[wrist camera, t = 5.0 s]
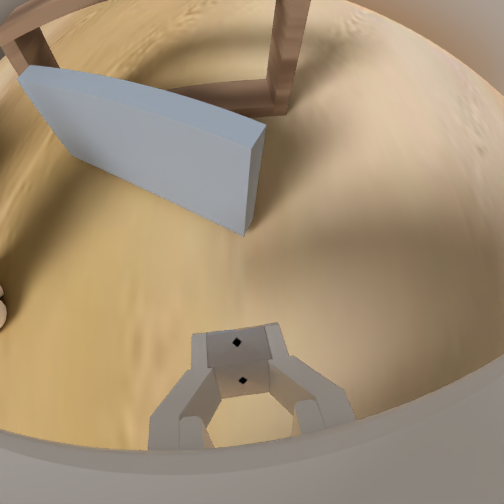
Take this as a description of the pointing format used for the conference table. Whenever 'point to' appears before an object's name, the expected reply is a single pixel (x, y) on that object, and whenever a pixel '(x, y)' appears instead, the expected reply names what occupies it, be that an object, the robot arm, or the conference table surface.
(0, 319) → the water bottle
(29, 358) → the conference table surface
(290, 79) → the brown wooden frame
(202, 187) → the door
